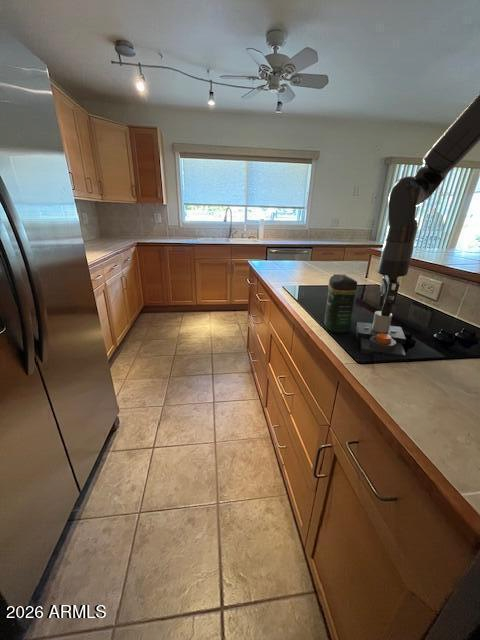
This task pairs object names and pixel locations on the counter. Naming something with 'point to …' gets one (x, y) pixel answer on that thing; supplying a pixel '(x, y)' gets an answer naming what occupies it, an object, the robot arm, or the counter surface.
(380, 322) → the timer knob
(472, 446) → the counter surface
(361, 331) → the fryer panel
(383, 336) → the power button
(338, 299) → the coffee jar
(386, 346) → the power block
